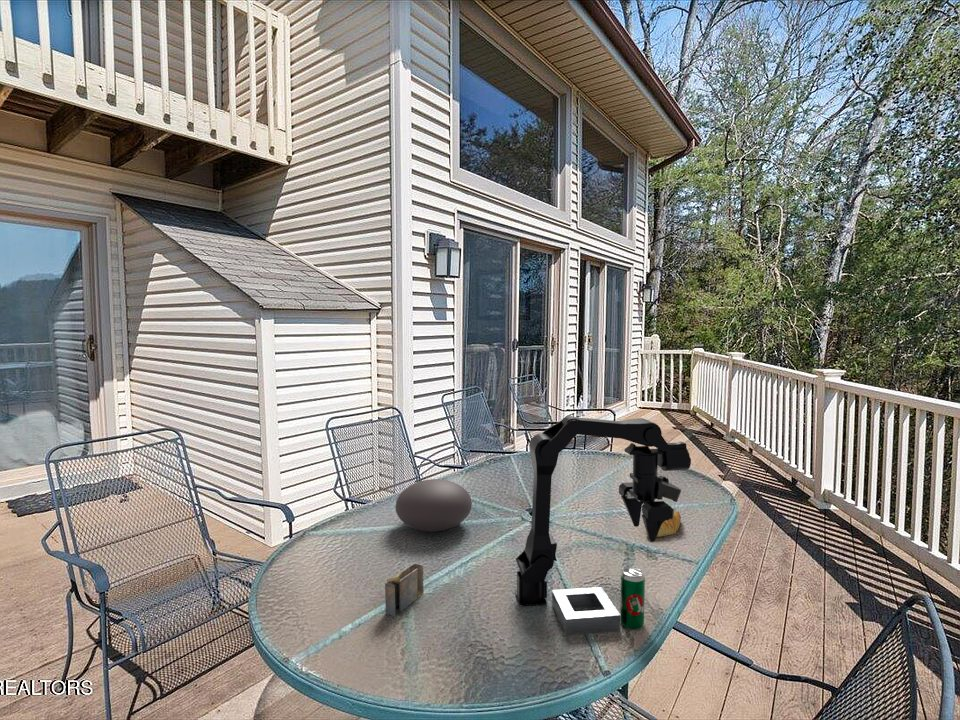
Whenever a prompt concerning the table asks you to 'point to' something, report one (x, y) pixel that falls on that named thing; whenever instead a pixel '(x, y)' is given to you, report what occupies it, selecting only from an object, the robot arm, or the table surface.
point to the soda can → (632, 598)
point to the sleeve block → (585, 621)
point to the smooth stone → (433, 505)
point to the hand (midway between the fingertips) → (644, 533)
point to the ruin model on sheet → (404, 588)
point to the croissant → (669, 526)
